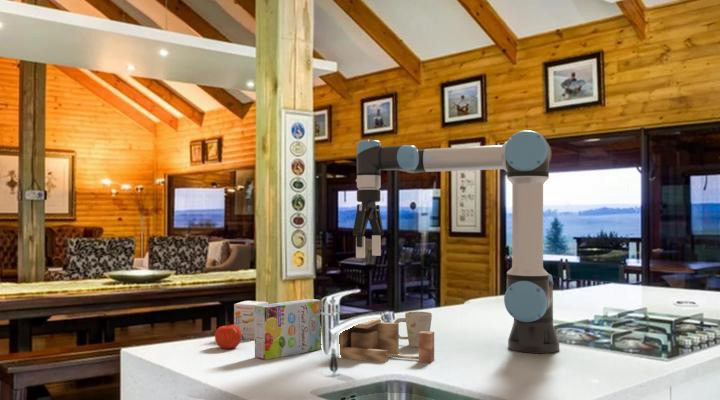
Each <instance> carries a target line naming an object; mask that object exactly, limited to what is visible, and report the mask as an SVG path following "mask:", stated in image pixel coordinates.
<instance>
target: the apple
mask: <svg viewBox="0 0 720 400" xmlns="http://www.w3.org/2000/svg"><path fill="white" fill-rule="evenodd" d="M241 337H242V333H241V330H240V328H239V327H238V326H237V325H234V324H230V321H228V322H227V325H222V326H219V327H218V328H217V329H216V330H215V334H214V340H215V342H216V345H217V346H218V347H219V348H222V349H225V350H229V349H231V350H232V349H235V348H237V347H238V346H239V345H240V343H241V341H242V339H241Z"/></svg>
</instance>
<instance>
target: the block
mask: <svg viewBox="0 0 720 400" xmlns="http://www.w3.org/2000/svg"><path fill="white" fill-rule="evenodd" d="M351 347H354V348H366V349H378V331H376V330H362V329H358V330H356V331H354V332H351ZM388 358H395V359H396V358H397V359H409V360H418V363H425V364H427V363H428V364H432V363H433V362H434V361H435V331H431V330H430V331H421V332H419V347H418V355H404V354H399V355H395V354H388Z"/></svg>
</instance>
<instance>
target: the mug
mask: <svg viewBox="0 0 720 400" xmlns="http://www.w3.org/2000/svg"><path fill="white" fill-rule="evenodd" d="M404 314H405V316H404V317H398V318H396V319H395V320H394V322H393V323H399V324H400V323H405V324H406V332H407V336H401V335H400V334H399V340H402V341H403V340H408V341H407V342H408V346H409V347H411V346H412V348H419V332H421V331H431V326H432V319H433V318H432V317H433V314H432V313H431V312H428V311H407V312H405V313H404Z"/></svg>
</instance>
